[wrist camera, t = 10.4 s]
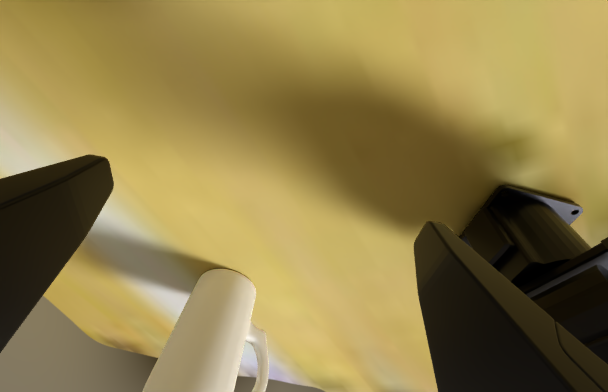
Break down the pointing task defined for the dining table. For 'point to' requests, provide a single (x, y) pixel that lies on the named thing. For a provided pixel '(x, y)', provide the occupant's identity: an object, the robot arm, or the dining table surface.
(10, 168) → the dining table surface
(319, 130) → the dining table surface
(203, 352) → the mug
